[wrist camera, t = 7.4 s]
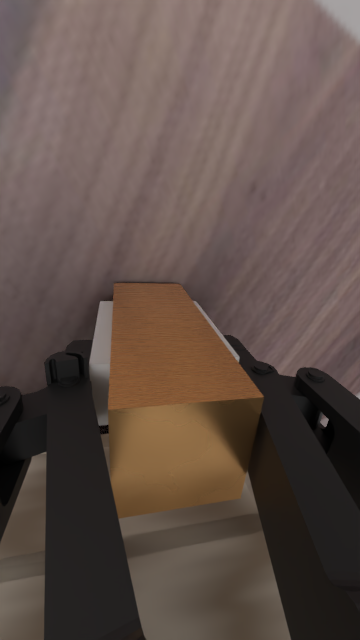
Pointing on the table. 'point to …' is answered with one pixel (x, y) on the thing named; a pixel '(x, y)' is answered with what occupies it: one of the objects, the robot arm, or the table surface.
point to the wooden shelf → (156, 568)
